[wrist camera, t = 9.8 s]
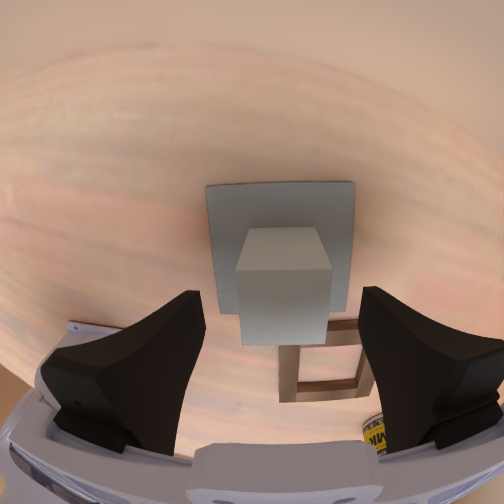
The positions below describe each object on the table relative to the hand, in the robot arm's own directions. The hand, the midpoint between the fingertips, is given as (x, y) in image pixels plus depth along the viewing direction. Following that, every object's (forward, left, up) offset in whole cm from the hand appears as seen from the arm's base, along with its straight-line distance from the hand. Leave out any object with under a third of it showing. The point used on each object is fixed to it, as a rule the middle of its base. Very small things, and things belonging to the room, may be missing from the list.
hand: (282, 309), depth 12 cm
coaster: (0, 0, -7) cm, 7 cm away
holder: (+4, -10, -7) cm, 13 cm away
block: (0, 0, -6) cm, 6 cm away
